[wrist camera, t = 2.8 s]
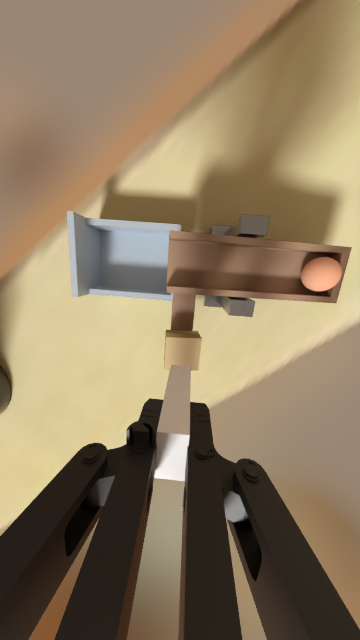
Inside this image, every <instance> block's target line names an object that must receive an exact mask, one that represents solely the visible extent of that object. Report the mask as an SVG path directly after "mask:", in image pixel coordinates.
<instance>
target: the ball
mask: <svg viewBox="0 0 360 640" xmlns="http://www.w3.org/2000/svg"><path fill="white" fill-rule="evenodd" d="M341 276H342V268H341V266H340V264H339V263H338V262H337V261H336V260H334V259H332V258H329V257H319V258H316V259H313V260H311V261H310V262H308V263H307V264H306V265H305V266H304V268H303V270H302V272H301V281H302V283H303V284H304V286H305V287H306V288H308V289H310V290H313V291H325V290H328V289H330V288H332V287H334V286H335V285H336V284H337V283H338V282H339V280H340V279H341Z"/></svg>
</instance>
